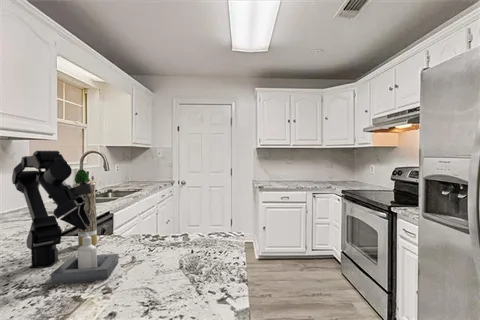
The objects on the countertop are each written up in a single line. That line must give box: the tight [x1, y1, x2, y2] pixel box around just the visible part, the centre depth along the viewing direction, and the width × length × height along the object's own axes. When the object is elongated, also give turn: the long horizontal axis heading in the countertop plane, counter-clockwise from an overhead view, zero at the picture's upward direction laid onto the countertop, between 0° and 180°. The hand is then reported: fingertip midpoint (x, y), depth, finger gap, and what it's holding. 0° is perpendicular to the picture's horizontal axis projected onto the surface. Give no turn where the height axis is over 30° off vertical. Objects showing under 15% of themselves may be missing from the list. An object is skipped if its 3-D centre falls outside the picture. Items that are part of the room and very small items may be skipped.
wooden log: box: [75, 182, 98, 247], centre depth 123 cm, size 7×7×25 cm
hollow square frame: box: [50, 253, 119, 286], centre depth 91 cm, size 14×14×3 cm
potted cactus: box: [73, 169, 90, 186], centre depth 216 cm, size 15×15×30 cm
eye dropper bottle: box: [77, 233, 98, 269], centre depth 91 cm, size 4×6×12 cm
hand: (87, 226), depth 97 cm, fingers open, 9 cm apart
